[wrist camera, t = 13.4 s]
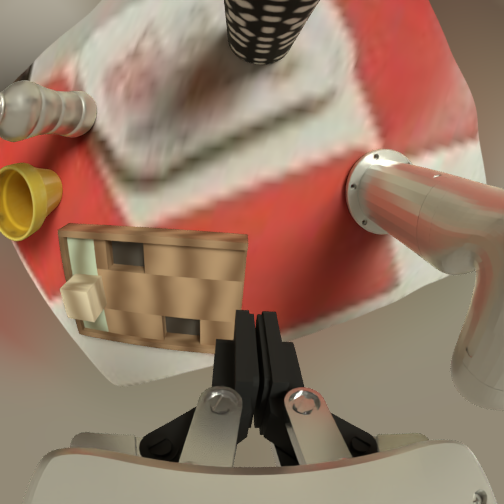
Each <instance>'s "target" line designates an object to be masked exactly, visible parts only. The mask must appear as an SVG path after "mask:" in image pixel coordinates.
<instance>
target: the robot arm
mask: <svg viewBox="0 0 504 504" xmlns="http://www.w3.org/2000/svg"><path fill="white" fill-rule="evenodd" d="M374 155H375V157H374ZM351 185H353V186H352V187H351ZM346 202H347V206H348V209H349V212H350V214H351V216H352V217H353V219H354V220H355V221H356V222H357V224H359V225H360V226H361V227H362V228H364V229H365V230H367V231H368V232H371V233H374V234H381V235H383V234H391V235H392V236H393V237H395V238H396V239H397V240H399V241H400V242H402V243H403V244H404V245H406V246H407V247H408V248H410V249H411V250H412V251H414V252H415V253H416V254H418V255H419V256H420V257H422V258H423V259H424V260H425V261H427V262H428V263H430V264H431V265H432V266H433V267H435V268H436V269H438V270H439V271H441V272H443V273H446V274H450V275H461V274H467V273H470V272H473V271H475V270H476V281H475V285H474V290H473V294H472V299H471V303H470V306H469V309H468V312H467V315H466V318H465V321H464V324H463V327H462V330H461V332H460V335H459V338H458V341H457V343H456V346H455V349H454V352H453V355H452V360H451V377H452V381H453V383H454V386H455V388H456V389H457V391H458V392H459V393H460V394H461V395H462V396H463V397H464V398H465V399H466V400H468V401H469V402H471V403H472V404H474V405H476V406H479V407H481V408H485V409H490V410H499V411H504V188H499V187H495V186H491V185H486V184H483V183H479V182H475V181H472V180H469V179H465V178H462V177H458V176H455V175H451V174H447V173H444V172H440V171H436V170H432V169H428V168H424V167H419V166H415V165H413V164H412V163H411V161H410V160H409V159H408V158H407V157H406V156H404V155H403V154H401V153H399V152H397V151H394V150H390V149H377V150H373V151H371V152H368V153H366V154H365V155H363V156H362V157H361V158H360V159H359V160H358V161H357V162H356V163H355V164H354V166H353V168H352V169H351V171H350V173H349V176H348V179H347V183H346ZM363 220H364V221H363ZM362 221H363V222H362ZM253 414H254V426H255V428H259V429H260V435H264V437H265V438H266V439H267V440H269V441H270V444H271V449H272V452H273V456H274V459H275V462H276V466H277V467H257V468H256V467H255V468H253V467H252V468H251V467H248V468H247V467H244V468H243V467H233V465H234V459H235V453H236V448H237V444H238V443H239V442H241V441H242V440H243V439H245V438H246V437H247V434H248V428H251V424H252V418H253ZM22 504H497V502H496V499H495V496H494V494H493V491H492V489H491V486H490V484H489V482H488V480H487V477H486V475H485V473H484V471H483V469H482V467H481V465H480V464H479V462H478V460H477V459H476V457H475V455H474V454H473V453H472V451H471V450H470V449H469V448H468V447H467V446H466V445H465V444H463V443H461V442H459V441H454V440H429V439H428V438H427V437H426V436H425V435H423V434H420V433H409V434H378V435H377V436H374V437H373V436H372V435H370V434H369V433H367V432H365V431H363V430H361V429H359V428H358V427H356V426H354V425H352V424H350V423H348V422H346V421H345V420H343V419H341V418H339V417H337V416H335V415H334V414H332V413H330V411H329V409H328V407H327V404H326V402H325V400H324V398H323V397H322V396H321V395H320V394H319V393H318V392H317V391H315V390H313V389H310V388H305V387H304V384H303V380H302V376H301V371H300V367H299V363H298V359H297V355H296V351H295V348H294V344H293V343H292V342H282V340H281V335H280V330H279V325H278V320H277V315H276V312H268V311H263V312H262V315H260V314H258V315H257V320H256V327H255V322H254V314H249V310H236V314H235V326H234V338H233V340H225V339H216V345H215V356H214V369H213V380H212V387H211V388H208V389H206V390H205V391H204V392H203V393H202V394H201V396H200V398H199V400H198V404H197V406H196V407H195V408H193V409H191V410H190V411H188V412H186V413H185V414H183V415H181V416H179V417H178V418H176V419H174V420H173V421H171V422H169V423H167V424H165V425H164V426H162V427H160V428H158V429H156V430H154V431H152V432H151V433H149V434H147V435H146V436H144V437H135V435H124V434H123V435H122V434H102V433H90V432H83V433H79V434H77V435H75V437H74V438H73V439H72V441H71V445H70V448H62V449H56V450H53V451H51V452H49V453H47V454H46V455H45V456H44V457H43V458H42V459H41V460H40V462H39V463H38V465H37V467H36V469H35V471H34V472H33V474H32V477H31V479H30V481H29V484H28V486H27V489H26V492H25V495H24V498H23V502H22Z"/></svg>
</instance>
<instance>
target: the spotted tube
mask: <svg viewBox="0 0 504 504" xmlns="http://www.w3.org/2000/svg"><path fill="white" fill-rule="evenodd" d="M319 1H320V0H224V5H225V14H226V23H227V32H228V42H229V45H230V47H231V49H232V51H233V52H234V53H235V54H236V55H237V56H238V57H239V58H241V59H242V60H244V61H246V62H250V63H253V64H269V63H273V62H276V61H278V60H280V59H282V58H283V57H284V56H285V55H286V54H287V53H288V51H289V50H290V48H291V46H292V45H293V43H294V41H295V40H296V38H297V36H298V35H299V33H300V31H301V30H302V28H303V26H304V25H305V23H306V21H307V20H308V18H309V16H310V15H311V13H312V12H313V10H314V9H315V7H316V5H317V4H318V2H319Z"/></svg>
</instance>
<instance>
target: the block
mask: <svg viewBox="0 0 504 504" xmlns="http://www.w3.org/2000/svg"><path fill="white" fill-rule="evenodd" d="M60 292H61V295H62V299H63V302H64V306H65V309H66V312H67V316H68V318H73V319H78V320H84V321H90V322H95V321H96V319H97V318H98V316H99V315H100V314H101V312H102V311H103V309H104V308H105V306H106V305H107V301H106V297H105V292H104V287H103V282H102V276H97V275H86V274H74V275H73V276H72V277H71V278H70V279H69V280H68V281H67V282H66V283H65V284H64V285H63V286H62V287H61V288H60Z"/></svg>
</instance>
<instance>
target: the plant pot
mask: <svg viewBox="0 0 504 504" xmlns="http://www.w3.org/2000/svg"><path fill="white" fill-rule="evenodd" d="M61 198H62V183H61V180H60V178H59V176H58V175H57V174H56V173H55V172H54V171H52V170H50V169H42V168H35V167H33V166H32V165H30V164H27V163H17V164H12V165H8V166H5V167H3V168H2V169H0V232H1V233H2V234H3V235H4V236H5V237H7V238H8V239H10V240H13V241H21V240H24V239H25V238H27V237H29V236H30V235H32V234H33V233H35V232H36V231H37V230H38V229H39V228H40V227H41V226H42V224H43V222H44V220H45V218H46V217H47V216H48V215H49V214H50V213H51V212H52V211H53V210H54V209H55V208H56V207H57V206H58V204H59V203H60V201H61Z"/></svg>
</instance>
